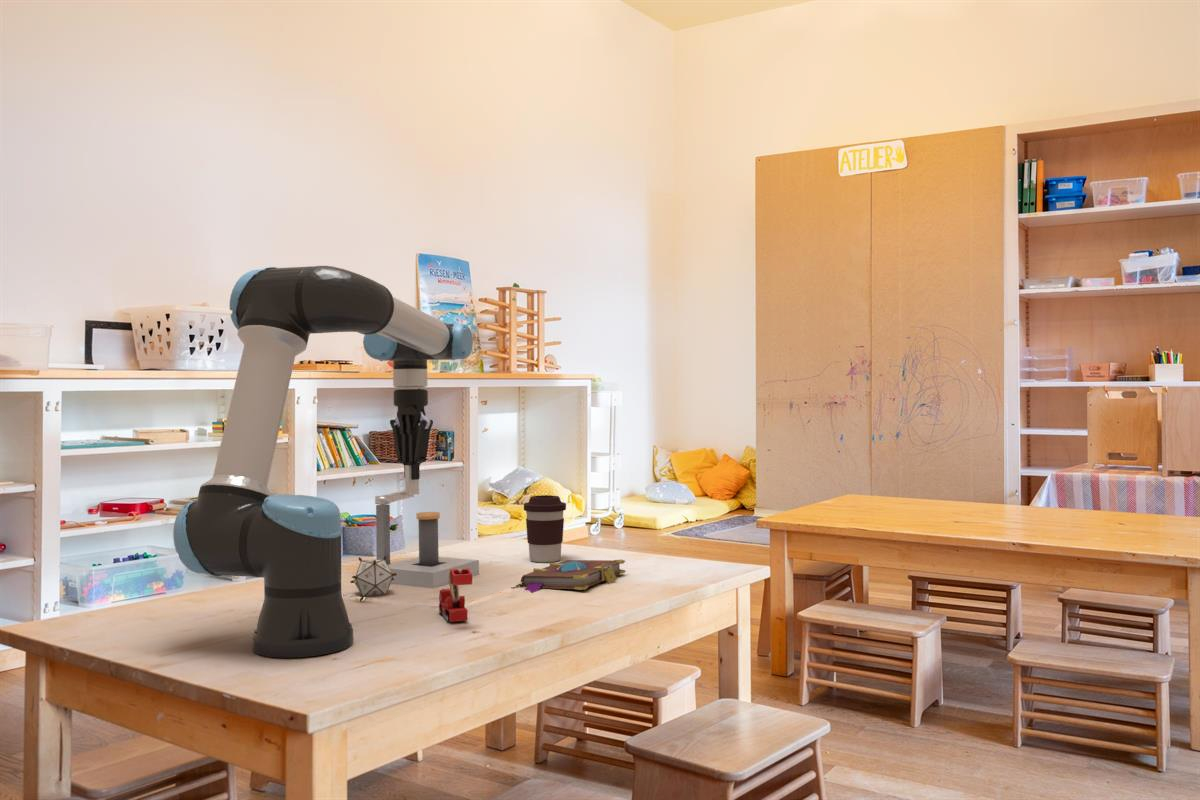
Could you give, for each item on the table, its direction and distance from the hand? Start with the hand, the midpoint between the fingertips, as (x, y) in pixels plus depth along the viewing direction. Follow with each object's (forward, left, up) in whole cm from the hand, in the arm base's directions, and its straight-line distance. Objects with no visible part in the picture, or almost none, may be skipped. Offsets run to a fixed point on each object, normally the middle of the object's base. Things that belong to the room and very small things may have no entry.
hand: (412, 494), depth 221 cm
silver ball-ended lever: (-4, +1, -1) cm, 5 cm away
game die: (-28, -12, -17) cm, 35 cm away
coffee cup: (+23, -21, -17) cm, 36 cm away
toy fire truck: (-36, -36, -17) cm, 54 cm away
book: (+2, -39, -18) cm, 43 cm away
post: (-10, 0, -17) cm, 20 cm away
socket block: (-10, -12, -17) cm, 23 cm away
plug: (-10, -12, -16) cm, 23 cm away
